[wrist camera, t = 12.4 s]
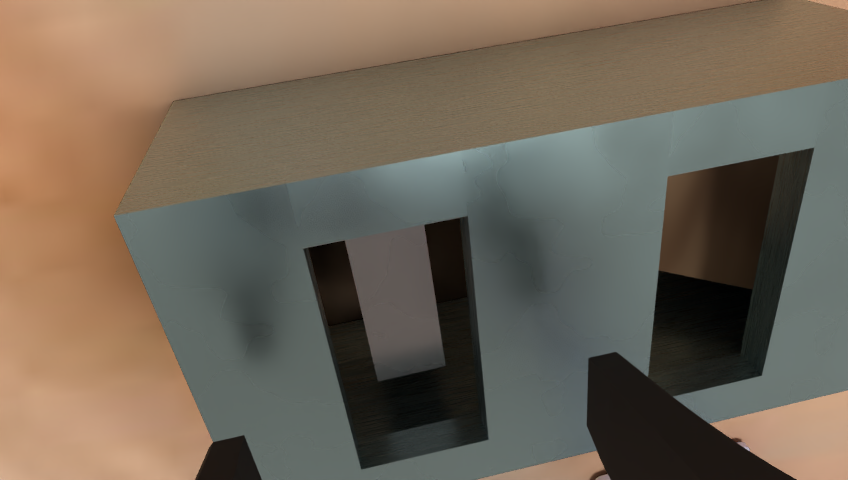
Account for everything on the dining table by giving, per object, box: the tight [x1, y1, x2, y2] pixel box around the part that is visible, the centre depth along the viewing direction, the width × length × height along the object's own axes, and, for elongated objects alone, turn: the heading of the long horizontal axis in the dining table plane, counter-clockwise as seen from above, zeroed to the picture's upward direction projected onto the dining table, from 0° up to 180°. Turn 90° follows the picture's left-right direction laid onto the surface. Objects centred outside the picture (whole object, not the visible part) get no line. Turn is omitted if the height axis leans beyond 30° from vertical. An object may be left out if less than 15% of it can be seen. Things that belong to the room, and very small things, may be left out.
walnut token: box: [659, 154, 780, 289], centre depth 20 cm, size 5×2×5 cm
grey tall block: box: [345, 225, 446, 382], centre depth 19 cm, size 5×2×5 cm, turn 8°
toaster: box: [114, 0, 848, 480], centre depth 18 cm, size 10×19×7 cm, turn 97°
